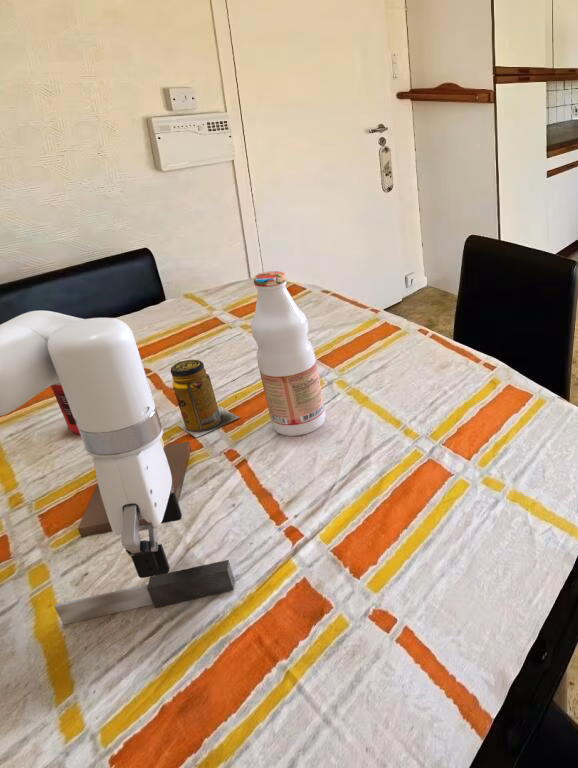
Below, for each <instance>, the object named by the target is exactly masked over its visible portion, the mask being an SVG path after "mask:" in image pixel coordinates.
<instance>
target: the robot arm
mask: <svg viewBox="0 0 578 768" xmlns="http://www.w3.org/2000/svg"><path fill="white" fill-rule="evenodd" d="M58 382H60V383H61V386H62V388H63V391H64V394H65V396H66V399H67V401H68V404H69V407H70V409H71V412H72V414H73V417H74V420H75V422H76V425H77V427H78V430H79V432H80V435H79V436H80V437H81V440H82V442H83V446H84V448H85V450H86V453H87V454H88V455H89V456H90V457H92V458H93V466H94V472H95V477H96V482H97V483H98V486H99V490H100V494H101V497H102V500H103V504H104V507H105V510H106V513H107V516H108V520H109V523H110V526H111V528H112V531H111V532H113V534H115V535H116V536H120V535H121V545H122V547H123V548H124V549H125V552H126V553H127V554H128V556H129V557H131V560H132V563H133V566H134V568H135V570H136V574H137V576H138V578H140V579H145V578H150V577H151V576H156V575H161V574H166V573H170V569H171V567H170V564H169V561H168V558H167V555H166V553H165V549H164V546H163V544H162V543H161V544H160V543H158V542H159V541H158V540H159V539H158V527H159V526H160V524H167V523H171V522H177V521H181V519H182V517H183V514H182V511H181V507H180V504H179V500H178V501H177V498H176V495H175V493H172V492H173V490H174V488H173V484H172V476H171V472H170V468H169V464H168V461H167V458H166V455H165V452H164V449H163V447H162V444H161V441H160V438H161V437H162V438H163V434H164V428H163V426H162V423H161V419H160V416H159V413H158V410H157V407H156V403H155V400H154V397H153V394H152V393H153V392H152V391H151V387H150V384H149V380H148V378H147V373H146V370H145V367H144V364H143V361H142V358H141V355H140V352H139V348H138V345H137V342H136V338H135V336H134V333H133V331H132V329H131V327H130V326H129V325H128V324H127V323H125V321H122V320H120V319H117V318H114V317H91V318H81V317H76V316H72V315H68V314H64V313H61V312H56V311H51V310H32V311H31V310H30V311H27V312H25V313H21V314H20V315H17V316H15V317H13V318H11V319H9V320H7V321H5V322H3V323H1V324H0V417H3V416H5V415H7V414H10V413H12V412H13V411H15V410H16V409H18V408H20V407H21V406H23V405H24V404H26V403H28V402H29V401H30V400H32V399H33V398H35V397H36V396H38V395H40V394H41V393H42V392H44V391H45V390H47V389H48V388H51V386H52V385H54V384H56V383H58ZM170 493H171V494H170ZM140 519H145V520H146V521H147V522H148V524H143V525H139V520H140ZM142 531H143V532H144V531H148V540H146V539H144V540H143V539H142V538H141V537H140V534H139V533H140V532H142ZM141 539H142V540H141Z"/></svg>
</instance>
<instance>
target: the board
mask: <svg viewBox="0 0 578 768" xmlns="http://www.w3.org/2000/svg"><path fill="white" fill-rule="evenodd" d="M163 449H164V452H165V455H166V458H167V461H168V464H169V468H170V472H171V476H172V484H173V488H174V490H173V492H172V493H175V495H176V498H177V501H178V502H179V500H180V495H181V492H182V487H183V484H184V479H185V474H186V470H187V467H188V462H189V458H190V455H191V450H192V448H191V445H190V442H189V441H184V442H178V443H173V444H166V445H164V448H163ZM170 494H171V493H170ZM143 524H149V523H148V522H147V521H146V520H145V519H140V520H139V525H143ZM77 531H78V532H79V536H80V537H87V536H93V535H97V534H102V533H108V532H113V531H112V528H111V526H110V523H109V520H108V516H107V513H106V510H105V507H104V504H103V500H102V497H101V494H100V490H99V486H98V482H97V483H96V486H95V488H94V491H93V493H92V495H91V497H90V500H89V501H88V504H87V506H86V509H85V511H84V513H83V515H82V517H81V520H80V522H79V525H78V527H77Z"/></svg>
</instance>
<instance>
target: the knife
mask: <svg viewBox="0 0 578 768" xmlns="http://www.w3.org/2000/svg"><path fill="white" fill-rule="evenodd" d="M234 588H235V576H234V573H233V570H232V566H231V563H230V560H229V559H226V560H225V559H224V560H221V561H217V562H212V563H207V564H202V565H198V566H193V567H189V568H188V567H187V568H185V569H180V570H175V571H169V572H168V573H166V574H161V575H156V576H151V577H148V582H147V584H142V585H137V586H134V587H128V588H124V589H120V590H115V591H110V592H106V593H102V594H97V595H93V596H88V597H87V596H86V597H84V598H79V599H73V600H70V601H64V602H60V603H57V604H55V605H54V609H55V611H56V613H57V615H58V618H59V619H60V621H61V623H62V625H68V624H72V623H76V622H81V621H86V620H90V619H94V618H98V617H103V616H107V615H112V614H116V613H120V612H121V613H122V612H125V611H130V610H134V609H138V608H142V607H146V606H147V607H148V606H151V605H153V608H154V609H158V608H162V607H166V606H171V605H176V604H180V603H184V602H189V601H193V600H197V599H201V598H206V597H211V596H215V595H219V594H224V593H228V592H232V591H234V590H235V589H234Z"/></svg>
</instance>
